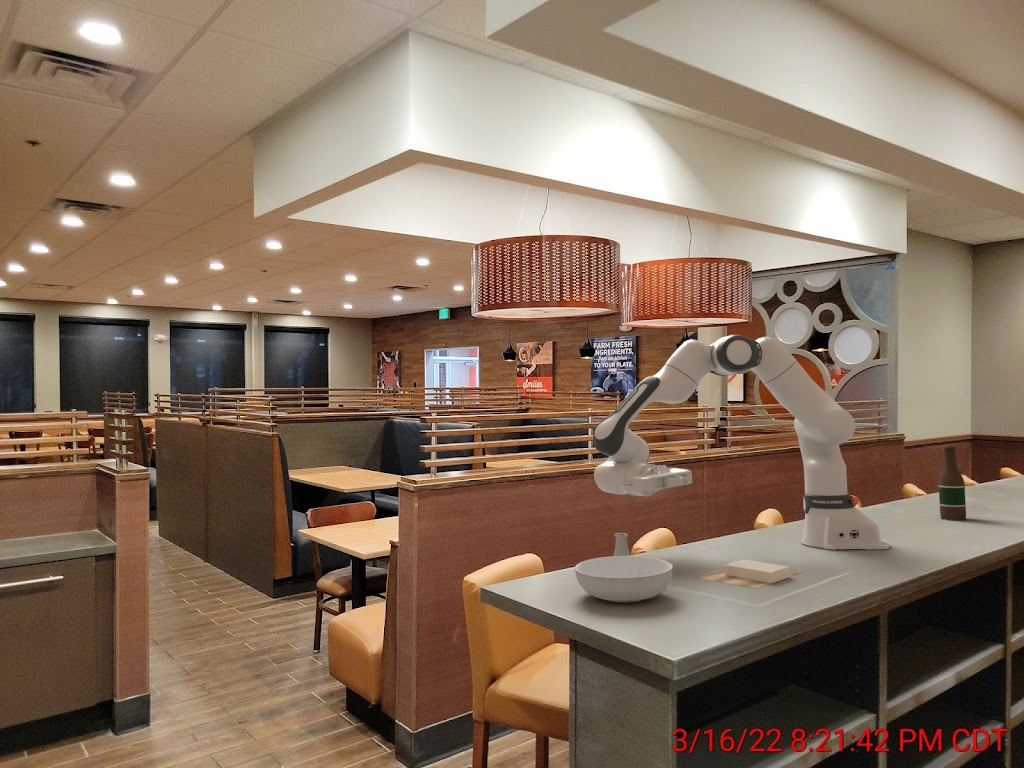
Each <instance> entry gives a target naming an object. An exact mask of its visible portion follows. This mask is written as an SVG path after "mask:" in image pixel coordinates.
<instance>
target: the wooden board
mask: <svg viewBox="0 0 1024 768" xmlns="http://www.w3.org/2000/svg"><path fill="white" fill-rule="evenodd" d="M799 574H802V572H801V571H800V572H799V571H794V570H790V577H789V578H791V577H794V576H797V575H799ZM694 578H697V579H703V580H707V581H712V582H713V581H714V582H718V583H724V584H729V585H734V586H738V587H739V586H740V587H743V588H750V589H757V588H760V587H761V588H762V587H763V586H767V585H771V583H766V582H760V581H755V580H749V579H744V578H738V577H733V576H727V575H725V568H724V567H722V568H719V569H716V570H712V571H709V572H706V573H703V574H699V575H696V576H694Z"/></svg>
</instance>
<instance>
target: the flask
mask: <svg viewBox="0 0 1024 768" xmlns="http://www.w3.org/2000/svg"><path fill="white" fill-rule="evenodd" d="M628 536H629V534H628V533H627V532H617V533H614V537H615V547H614V552H613V556H632V555H631V554H630V550H629V546H628V545H629V544H628V539H627V538H628Z"/></svg>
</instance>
